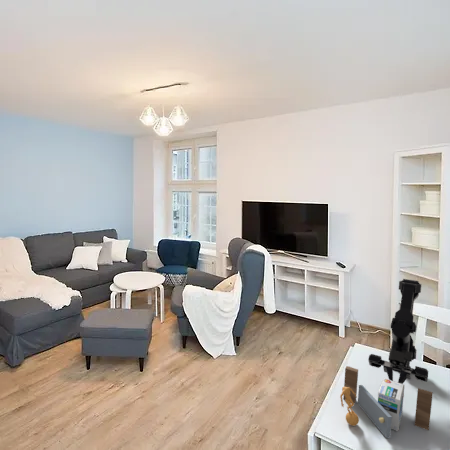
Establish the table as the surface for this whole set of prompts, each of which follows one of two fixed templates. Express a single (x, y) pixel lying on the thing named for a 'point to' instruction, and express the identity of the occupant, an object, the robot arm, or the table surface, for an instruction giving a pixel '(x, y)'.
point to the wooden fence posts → (421, 407)
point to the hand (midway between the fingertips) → (394, 391)
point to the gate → (374, 411)
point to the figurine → (350, 416)
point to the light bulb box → (392, 400)
